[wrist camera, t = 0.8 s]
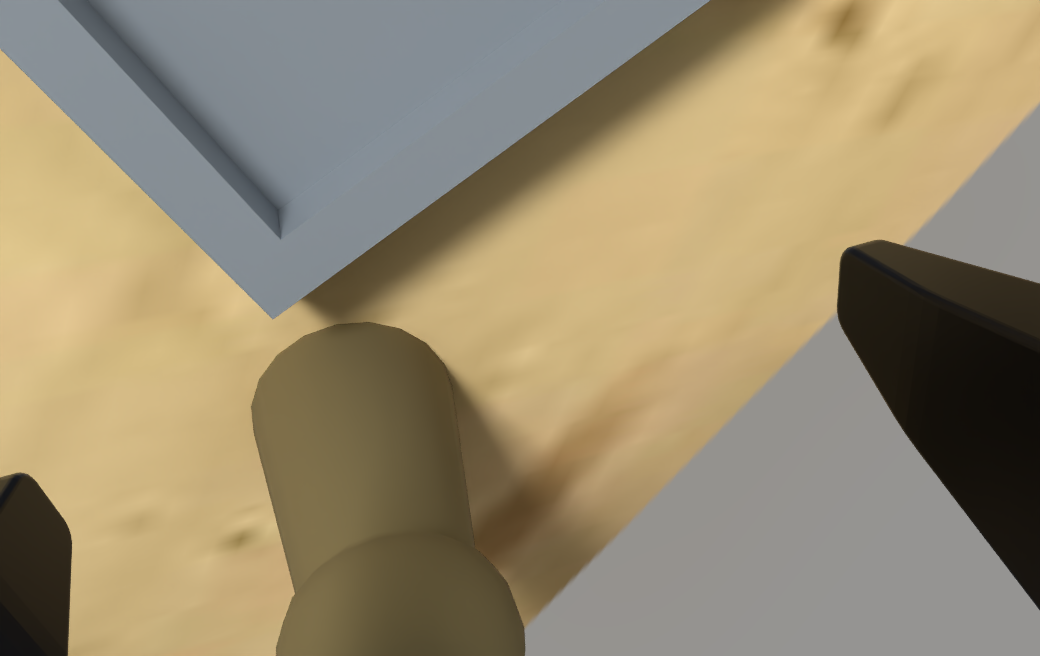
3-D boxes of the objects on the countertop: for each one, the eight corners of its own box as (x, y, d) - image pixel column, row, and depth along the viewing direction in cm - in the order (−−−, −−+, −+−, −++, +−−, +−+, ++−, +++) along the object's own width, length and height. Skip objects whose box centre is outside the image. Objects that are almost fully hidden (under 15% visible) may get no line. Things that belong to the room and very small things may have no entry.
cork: (487, 361, 26) (619, 639, 17) (398, 508, 28) (474, 831, 19) (303, 292, 23) (341, 580, 14) (218, 460, 25) (203, 812, 16)
